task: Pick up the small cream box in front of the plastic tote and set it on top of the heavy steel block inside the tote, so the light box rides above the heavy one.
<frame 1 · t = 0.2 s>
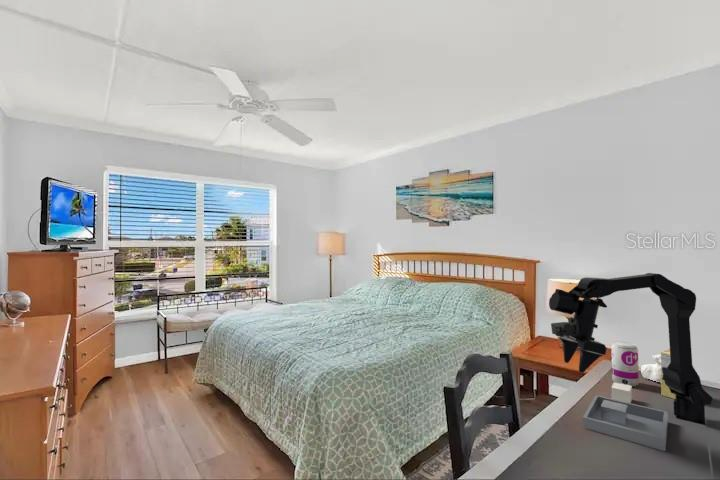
hand: (573, 367, 110), 15 cm above the table, tool pointing down, fingers open, 9 cm apart
candy box: (674, 395, 125), on the table
duck figurine: (660, 382, 138), on the table
cream box: (621, 401, 121), on the table
steel block: (614, 419, 107), resting on tote
supplement can: (625, 383, 136), on the table
tote: (626, 426, 104), on the table
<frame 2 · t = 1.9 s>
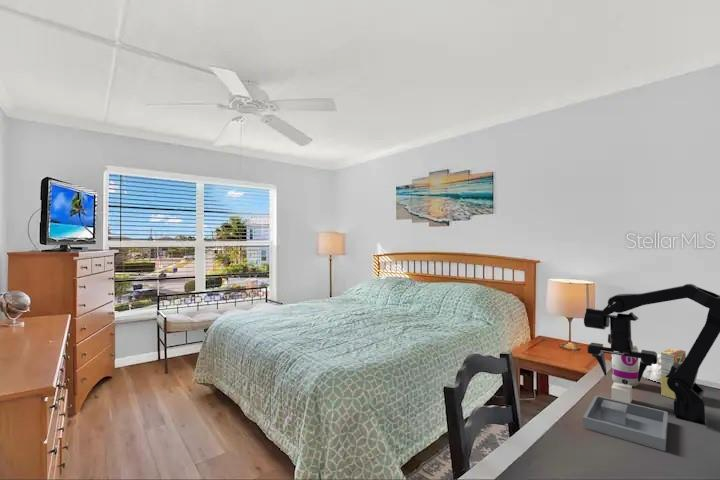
hand: (621, 378, 121), 8 cm above the table, tool pointing down, fingers open, 9 cm apart
nothing on the table moved.
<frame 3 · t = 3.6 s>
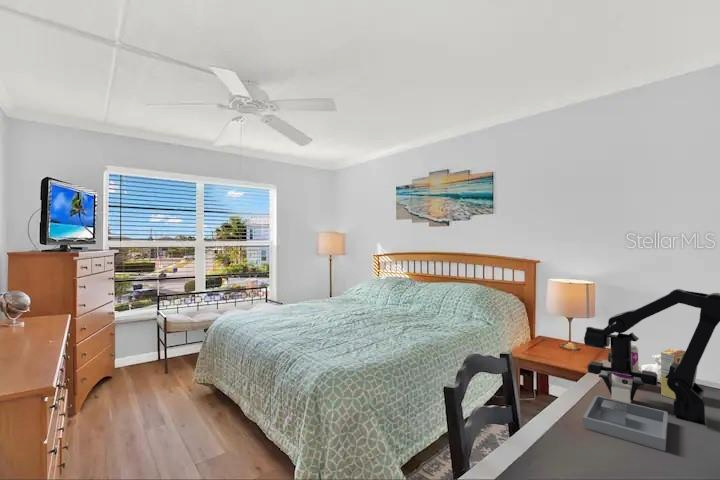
hand: (621, 398, 121), 1 cm above the table, tool pointing down, fingers closed on cream box, 5 cm apart
cream box: (621, 401, 121), on the table, touching gripper
everything else where it was.
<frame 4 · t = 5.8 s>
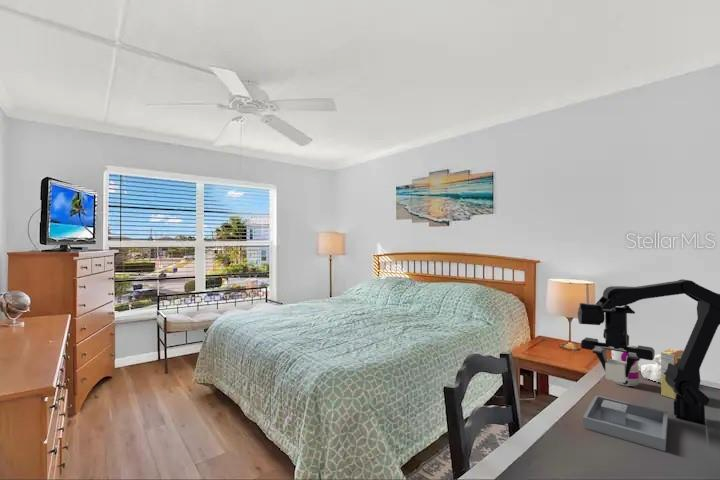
hand: (616, 374, 115), 11 cm above the table, tool pointing down, fingers closed on cream box, 5 cm apart
cream box: (616, 378, 115), point 10 cm above the table, touching gripper
everything else where it was.
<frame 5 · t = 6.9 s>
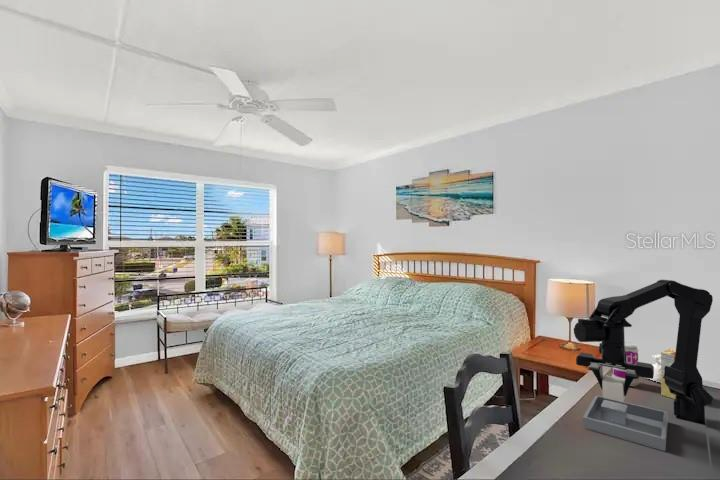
hand: (614, 393, 108), 8 cm above the table, tool pointing down, fingers closed on cream box, 5 cm apart
cream box: (614, 396, 108), point 7 cm above the table, touching gripper
everything else where it was.
when the fingers open (6 cm above the table, at t = 8.0 s): cream box stays where it is, resting on steel block.
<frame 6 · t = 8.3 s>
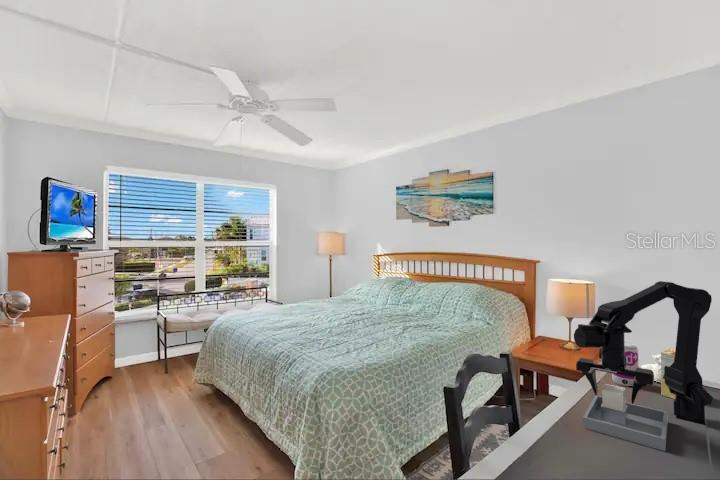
hand: (614, 398, 107), 6 cm above the table, tool pointing down, fingers open, 9 cm apart
cream box: (614, 405, 107), point 4 cm above the table, touching steel block
steel block: (614, 419, 107), resting on tote, touching cream box
everything else where it was.
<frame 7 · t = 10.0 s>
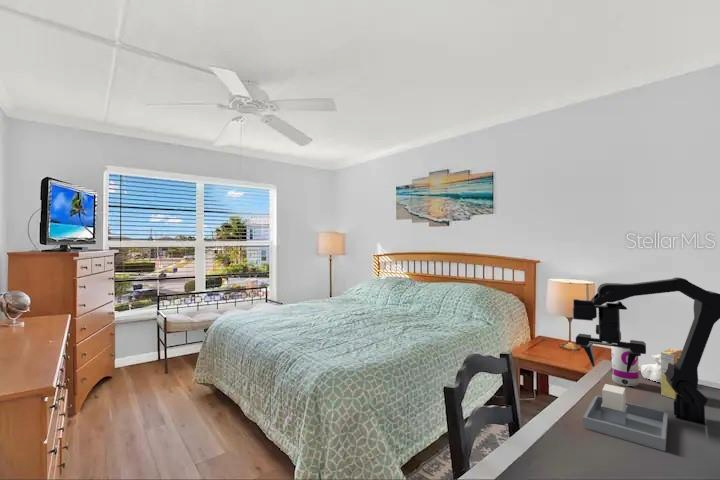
hand: (610, 369, 117), 12 cm above the table, tool pointing down, fingers open, 9 cm apart
nothing on the table moved.
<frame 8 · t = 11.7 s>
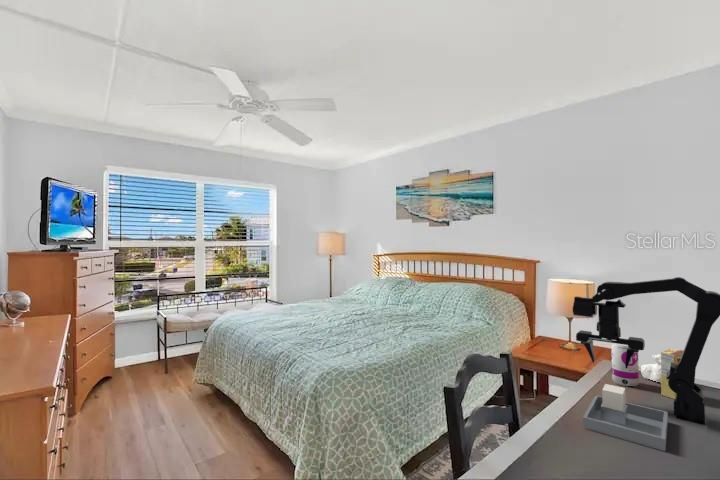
hand: (609, 365, 121), 12 cm above the table, tool pointing down, fingers open, 9 cm apart
nothing on the table moved.
at the end: cream box 0.0 cm from the steel block (horizontally); cream box point 4.5 cm above the table; cream box tilted 0° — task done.
